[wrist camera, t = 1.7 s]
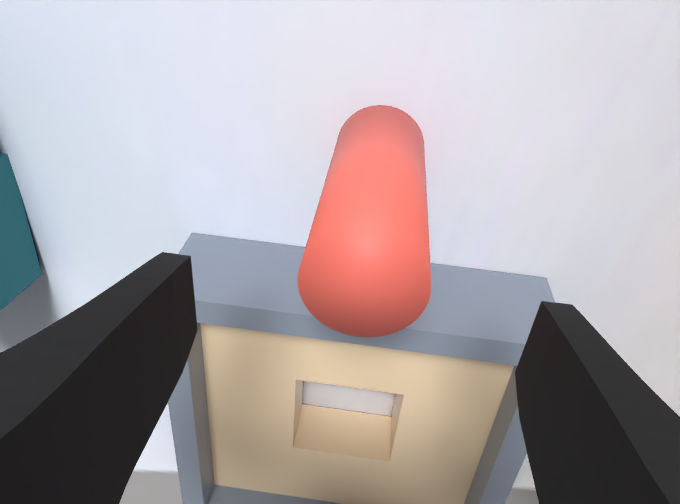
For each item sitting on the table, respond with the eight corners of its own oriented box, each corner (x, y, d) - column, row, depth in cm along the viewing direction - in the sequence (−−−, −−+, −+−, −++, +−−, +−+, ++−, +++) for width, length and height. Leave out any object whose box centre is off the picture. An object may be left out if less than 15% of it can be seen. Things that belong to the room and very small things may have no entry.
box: (546, 277, 21) (571, 350, 18) (469, 488, 29) (477, 566, 25) (191, 232, 22) (152, 294, 18) (211, 451, 29) (185, 521, 26)
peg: (430, 110, 18) (442, 238, 11) (416, 191, 20) (419, 344, 13) (340, 100, 18) (300, 221, 11) (334, 181, 20) (295, 328, 13)
